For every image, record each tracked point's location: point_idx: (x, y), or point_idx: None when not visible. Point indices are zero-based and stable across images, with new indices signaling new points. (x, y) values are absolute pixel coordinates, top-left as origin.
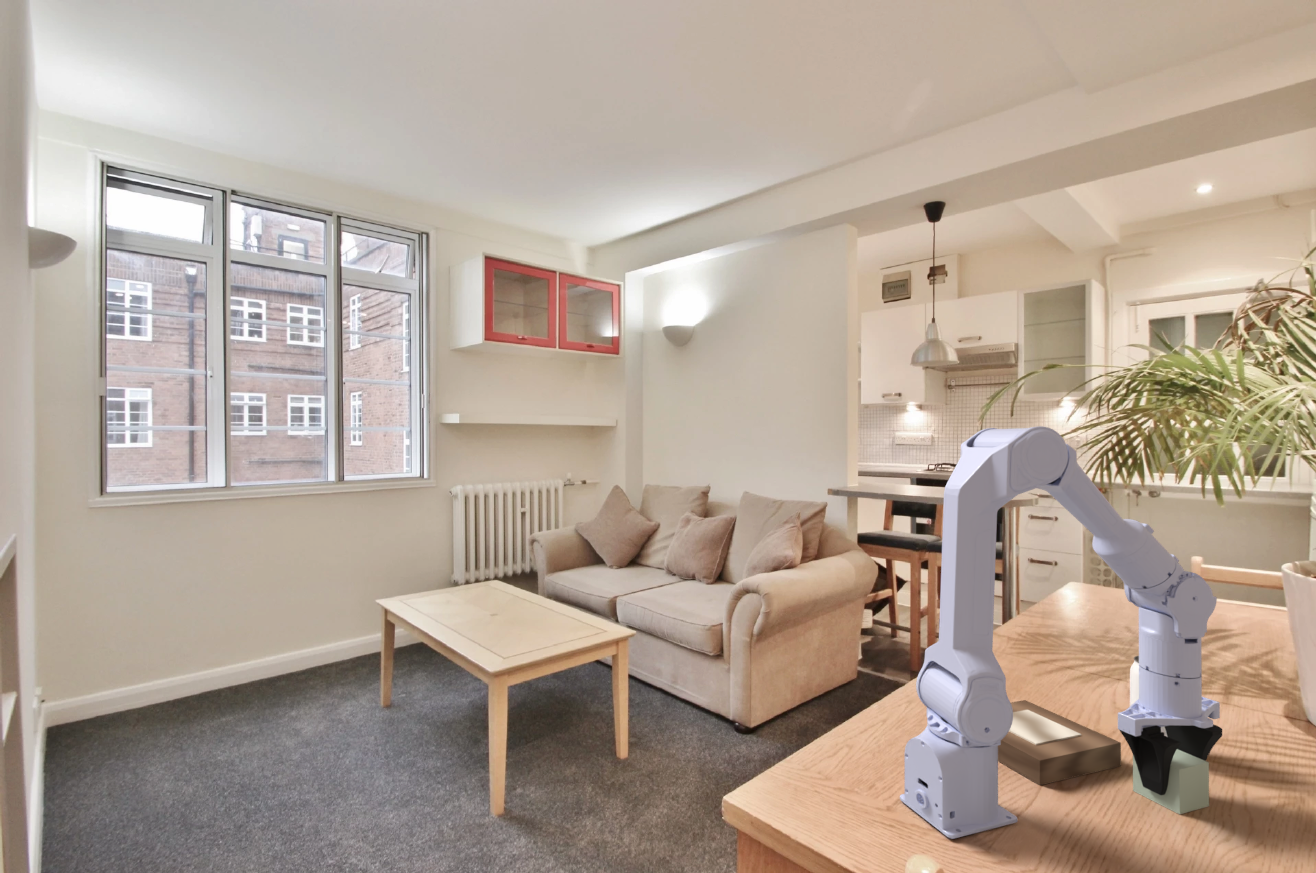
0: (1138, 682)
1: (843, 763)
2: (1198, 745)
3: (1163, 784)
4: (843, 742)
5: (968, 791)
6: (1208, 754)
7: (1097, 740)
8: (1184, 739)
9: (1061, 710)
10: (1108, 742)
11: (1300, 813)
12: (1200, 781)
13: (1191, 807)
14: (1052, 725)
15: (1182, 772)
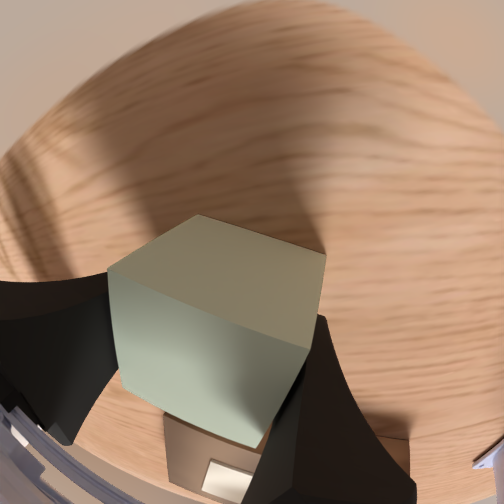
0: (22, 444)
1: (470, 496)
2: (70, 329)
3: (330, 337)
4: None
5: None
6: (68, 280)
7: (202, 444)
8: (79, 367)
9: (110, 421)
10: (188, 431)
11: (73, 96)
12: (192, 256)
13: (268, 241)
14: (223, 482)
15: (290, 330)
